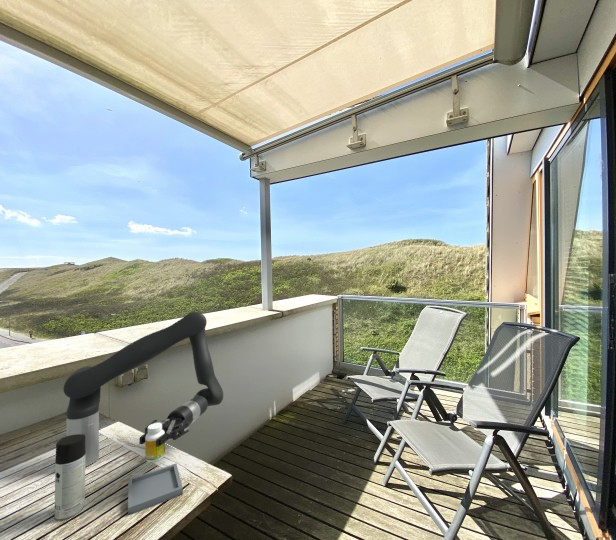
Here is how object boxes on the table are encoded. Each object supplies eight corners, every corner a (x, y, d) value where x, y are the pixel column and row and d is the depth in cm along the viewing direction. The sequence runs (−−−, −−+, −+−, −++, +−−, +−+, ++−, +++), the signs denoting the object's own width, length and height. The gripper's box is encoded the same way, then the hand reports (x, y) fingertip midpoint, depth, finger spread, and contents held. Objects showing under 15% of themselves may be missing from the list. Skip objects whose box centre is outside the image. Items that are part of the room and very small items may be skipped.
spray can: (66, 502, 85) (66, 433, 86) (90, 500, 86) (91, 432, 86) (47, 521, 78) (48, 446, 79) (74, 519, 79) (74, 445, 79)
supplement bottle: (156, 463, 87) (156, 431, 87) (141, 461, 88) (140, 429, 88) (168, 452, 92) (168, 422, 92) (154, 451, 93) (153, 420, 93)
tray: (128, 515, 80) (128, 508, 80) (128, 485, 92) (128, 478, 92) (182, 494, 87) (182, 487, 87) (176, 469, 99) (176, 463, 99)
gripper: (167, 403, 106) (128, 427, 89) (202, 406, 102) (168, 432, 86) (167, 424, 106) (129, 452, 89) (202, 428, 102) (169, 457, 86)
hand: (148, 442), depth 88 cm, fingers closed on supplement bottle, 5 cm apart
